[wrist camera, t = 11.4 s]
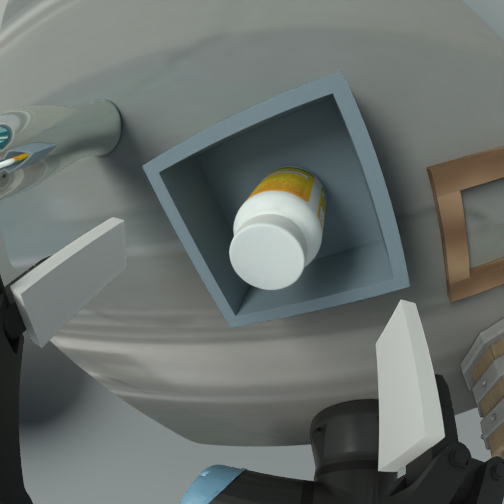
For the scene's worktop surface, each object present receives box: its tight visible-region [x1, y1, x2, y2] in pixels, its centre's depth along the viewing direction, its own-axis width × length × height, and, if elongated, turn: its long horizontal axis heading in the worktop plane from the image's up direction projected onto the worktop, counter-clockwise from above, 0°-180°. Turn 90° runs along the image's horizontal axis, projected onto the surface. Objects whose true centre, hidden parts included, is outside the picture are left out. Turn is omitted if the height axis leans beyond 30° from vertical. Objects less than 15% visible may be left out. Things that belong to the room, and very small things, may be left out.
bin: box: [142, 71, 410, 328], centre depth 21 cm, size 14×14×7 cm
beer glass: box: [0, 99, 122, 201], centre depth 19 cm, size 7×7×15 cm
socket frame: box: [427, 146, 504, 302], centre depth 19 cm, size 13×13×1 cm
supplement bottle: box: [229, 166, 326, 290], centre depth 19 cm, size 5×5×10 cm
